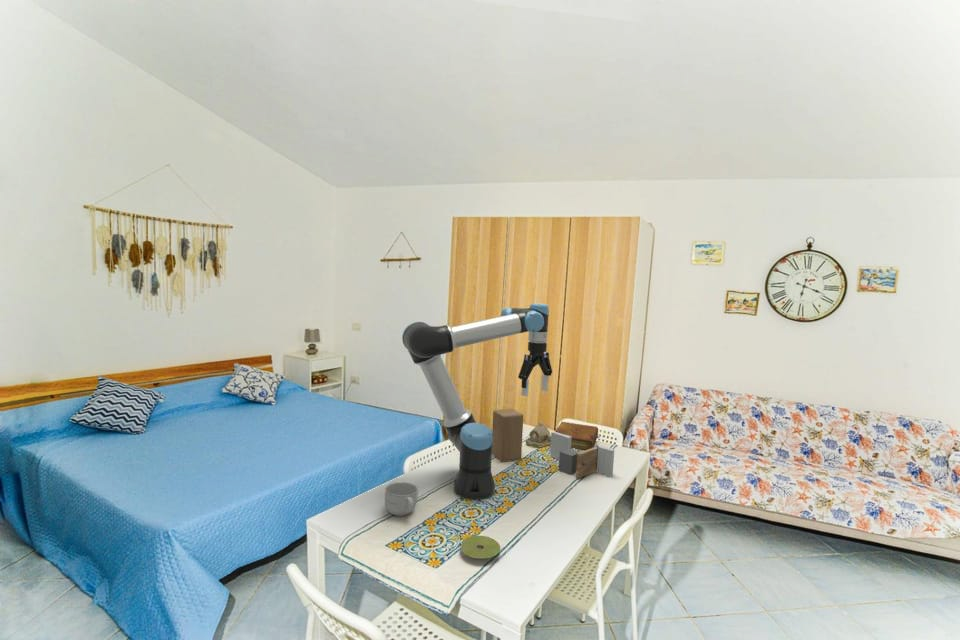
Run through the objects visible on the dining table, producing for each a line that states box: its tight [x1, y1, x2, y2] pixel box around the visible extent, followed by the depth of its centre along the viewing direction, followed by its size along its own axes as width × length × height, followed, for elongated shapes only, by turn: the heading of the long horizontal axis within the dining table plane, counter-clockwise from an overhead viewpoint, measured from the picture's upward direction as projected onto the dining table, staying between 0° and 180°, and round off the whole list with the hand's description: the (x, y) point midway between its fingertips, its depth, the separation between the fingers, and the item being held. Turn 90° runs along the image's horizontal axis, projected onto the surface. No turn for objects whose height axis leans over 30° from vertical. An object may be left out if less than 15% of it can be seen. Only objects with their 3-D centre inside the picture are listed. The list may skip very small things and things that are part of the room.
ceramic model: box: [525, 422, 551, 448], centre depth 221 cm, size 14×11×10 cm
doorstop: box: [558, 448, 580, 476], centre depth 190 cm, size 6×6×8 cm
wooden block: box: [491, 408, 524, 463], centre depth 202 cm, size 10×10×20 cm
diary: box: [554, 421, 599, 451], centre depth 227 cm, size 23×19×6 cm
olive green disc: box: [460, 535, 501, 559], centre depth 130 cm, size 11×11×2 cm
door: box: [575, 444, 599, 479], centre depth 186 cm, size 2×13×11 cm, turn 131°
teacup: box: [384, 481, 419, 517], centre depth 150 cm, size 14×11×8 cm
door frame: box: [549, 431, 615, 478], centre depth 195 cm, size 2×29×11 cm, turn 47°
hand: (534, 393), depth 188 cm, fingers open, 13 cm apart
